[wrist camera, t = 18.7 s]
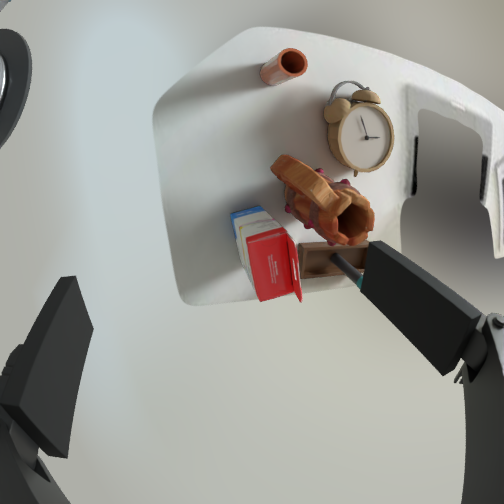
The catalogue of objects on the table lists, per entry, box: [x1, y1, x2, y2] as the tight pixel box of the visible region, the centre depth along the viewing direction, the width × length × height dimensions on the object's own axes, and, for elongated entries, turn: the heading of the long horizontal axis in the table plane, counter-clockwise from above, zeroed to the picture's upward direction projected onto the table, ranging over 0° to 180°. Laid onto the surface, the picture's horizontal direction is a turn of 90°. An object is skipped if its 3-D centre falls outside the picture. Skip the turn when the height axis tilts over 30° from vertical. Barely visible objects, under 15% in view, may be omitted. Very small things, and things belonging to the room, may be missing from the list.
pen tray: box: [298, 240, 369, 279], centre depth 49 cm, size 14×6×2 cm, turn 88°
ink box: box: [230, 206, 302, 303], centre depth 38 cm, size 8×5×15 cm, turn 11°
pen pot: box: [260, 48, 308, 86], centre depth 32 cm, size 4×4×8 cm
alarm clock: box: [324, 81, 394, 177], centre depth 39 cm, size 11×5×15 cm
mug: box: [270, 155, 375, 247], centre depth 36 cm, size 15×8×15 cm, turn 50°
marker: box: [330, 253, 363, 289], centre depth 44 cm, size 2×2×13 cm
